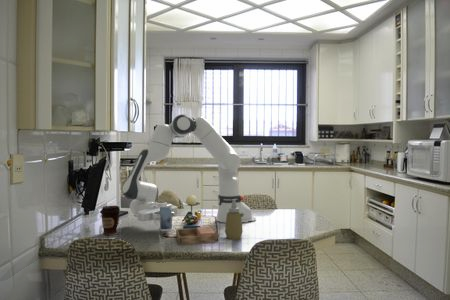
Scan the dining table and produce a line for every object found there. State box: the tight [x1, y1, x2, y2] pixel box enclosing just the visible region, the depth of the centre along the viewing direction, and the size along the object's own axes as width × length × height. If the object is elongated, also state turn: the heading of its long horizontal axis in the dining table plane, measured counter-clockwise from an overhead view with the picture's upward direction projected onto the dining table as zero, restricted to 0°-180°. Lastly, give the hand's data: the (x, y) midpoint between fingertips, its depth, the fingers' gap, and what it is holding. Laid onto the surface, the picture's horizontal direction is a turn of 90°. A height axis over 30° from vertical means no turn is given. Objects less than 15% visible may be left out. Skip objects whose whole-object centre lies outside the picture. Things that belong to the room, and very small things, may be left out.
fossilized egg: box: [157, 188, 180, 208], centre depth 189 cm, size 13×13×15 cm
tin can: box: [159, 203, 173, 233], centre depth 146 cm, size 6×6×12 cm
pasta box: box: [196, 226, 216, 236], centre depth 141 cm, size 6×10×4 cm, turn 15°
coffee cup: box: [100, 205, 121, 236], centre depth 149 cm, size 9×8×13 cm
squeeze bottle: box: [224, 200, 244, 241], centre depth 141 cm, size 8×8×18 cm
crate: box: [175, 226, 219, 245], centre depth 140 cm, size 17×13×4 cm
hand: (167, 215), depth 146 cm, fingers closed on tin can, 5 cm apart
